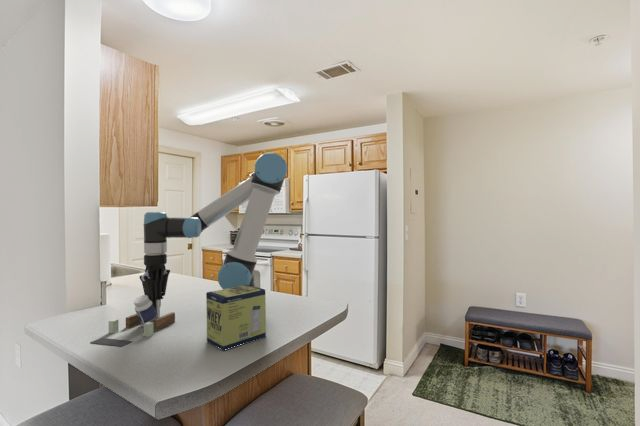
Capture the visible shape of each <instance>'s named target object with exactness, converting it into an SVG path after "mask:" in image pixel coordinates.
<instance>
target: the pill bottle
mask: <svg viewBox="0 0 640 426" xmlns="http://www.w3.org/2000/svg"><path fill="white" fill-rule="evenodd" d="M133 304H134V306H135V307H134V310H135V314H137V315H138V318H139V320H140V322H141V323H140V324H141V325H142V326H143V327H144V324H145V323H147V322H153V320H155V319H157V318H158V314H157V312H156V310H155V307H154V305H153V303H152V301H151V300H149V298H148V296H147V295H145V294H144V295H140V296H139V295H138V297H136V298H135V299H134V300H133Z"/></svg>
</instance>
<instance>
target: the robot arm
mask: <svg viewBox="0 0 640 426" xmlns="http://www.w3.org/2000/svg"><path fill="white" fill-rule="evenodd" d="M287 173H288V164H287V161H286V160H285V159H284V158H283V156H282V155H280V154H278V153H276V152H266V153H263V154H261V155H260V156H259V157H258V158H257V159H256V160H255V164H254V171H253V172H251V173H250V174H249V177H248V178H247V179H245V180H244V181H242V182H241V183H238V184H237V185H236V186H235V187H233V188H231V189H230V190H228V191H227V192H225V193H224V194H222V195H221V196H220V197H218V198H217V199H215V200H213V201H212V202H210V203H209V204H207V205H206V206H204V207H203V208H201V209H200V210H199V211H197V212H196V213H194V214H192V215H190V216H189V217H187V216H186V217H170V216H169V217H168V214H167V212H165V211H147V212H145V213H144V216H143V218H144V219H143V253H144V256H143V264H144V265H145V269H144V274H143V275H140V276H139V277H138V278H139V279H140V281H141V284H142V288H143V289H142V290H143V293H144V295H147V296H148V298H149V300H151V301H152V303H153V305H154V307H155V310H156V312H157V314H158V318H159V317H161V306H162V304H161V300H163V299H164V297H165V296H166V291H167V285H168V280H169V275H170V273H171V270H170V269H167V268H166V264H168V263H167V262H168V260H167V258H168V256H167V252H168V242H167V241H168V240H167V239H168V238H171V239H172V238H174V239H177V238H179V239H181V238H183V239H185V238H187V239H193V238H199V237H200V235H201V234H202V233H203V231H205V230H206V229H207V228H209V227H210V226H212V225H213V224H215V223H216V222H218V221H219V220H221V219H223V218H224V217H225V216H227V215H228V214H229V213H232V212H233V211H234V210H236V209H238V208H239V207H240V206H242V205H243V204H245V203H246V202H248V203H247V205H246V209H245V211H244V214H243V217H242V220H241V224H240V225H239V229H238V232H237V233H236V234H237V235H236V237H235V241H234V244H233V247H232V249H230V250H228V251H227V252H226V255H225V258H224V260H223V264H222V266H221V267H220V268H219V270H218V273H217V282H218V284H219V286H220V288H221V290H223V289H228V288H233V287H238V286H243V285H250V286H254V287H255V269H256V265H257V262H258V260H257V258H256V252H257V249H258V247H259V244H260V240H261V237H262V234H263V230H264V228H265V225H266V222H267V219H268V217H269V213H270V211H271V207H272V205H273V202H274V198H275V196H276V195H278V194H280V193H281V190H282V187H283V184H284V181H285V179H286V176H287Z"/></svg>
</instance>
